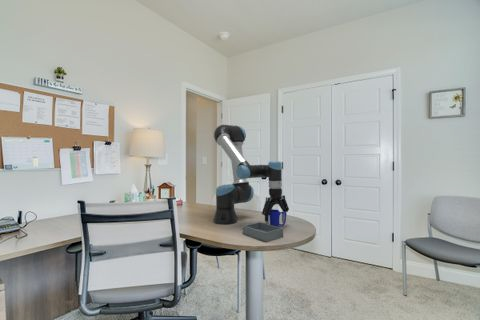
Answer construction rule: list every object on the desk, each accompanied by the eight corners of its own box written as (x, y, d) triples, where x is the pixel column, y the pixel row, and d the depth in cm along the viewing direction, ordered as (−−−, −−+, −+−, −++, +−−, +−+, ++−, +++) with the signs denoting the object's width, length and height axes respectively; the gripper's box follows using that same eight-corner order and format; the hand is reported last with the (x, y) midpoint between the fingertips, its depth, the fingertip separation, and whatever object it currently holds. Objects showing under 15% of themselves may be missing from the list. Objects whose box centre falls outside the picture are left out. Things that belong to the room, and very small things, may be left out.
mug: (286, 230, 137) (286, 212, 137) (264, 229, 139) (264, 212, 139) (286, 226, 145) (286, 209, 145) (266, 225, 147) (265, 209, 147)
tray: (242, 234, 132) (242, 225, 132) (259, 229, 139) (259, 221, 139) (265, 242, 118) (265, 233, 118) (283, 236, 126) (283, 228, 126)
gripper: (264, 190, 131) (265, 230, 131) (294, 186, 147) (295, 222, 147) (255, 189, 137) (255, 227, 137) (284, 185, 153) (285, 220, 153)
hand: (276, 224), depth 142 cm, fingers open, 13 cm apart
